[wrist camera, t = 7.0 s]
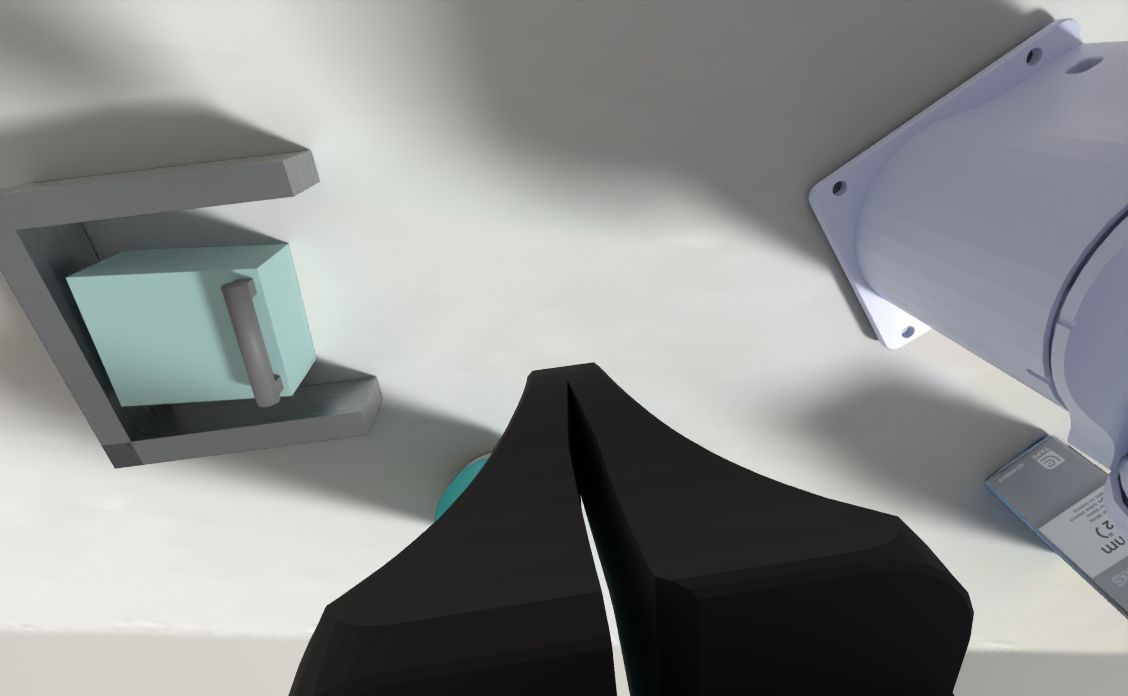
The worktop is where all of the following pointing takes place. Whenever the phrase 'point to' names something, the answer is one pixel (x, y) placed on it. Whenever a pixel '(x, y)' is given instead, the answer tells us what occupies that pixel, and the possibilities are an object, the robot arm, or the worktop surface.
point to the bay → (38, 279)
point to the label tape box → (1068, 513)
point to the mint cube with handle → (198, 323)
